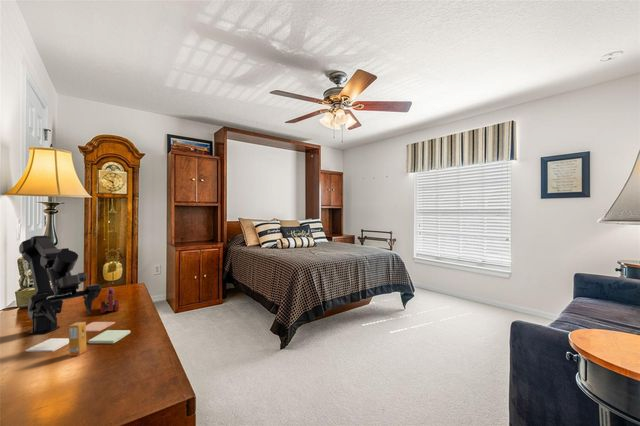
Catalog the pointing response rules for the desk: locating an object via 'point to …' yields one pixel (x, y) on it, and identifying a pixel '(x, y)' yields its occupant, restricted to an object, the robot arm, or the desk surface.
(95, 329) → the terracotta tile
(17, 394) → the desk surface
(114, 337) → the sage tile
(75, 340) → the supplement box
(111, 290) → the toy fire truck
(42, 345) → the white tile
